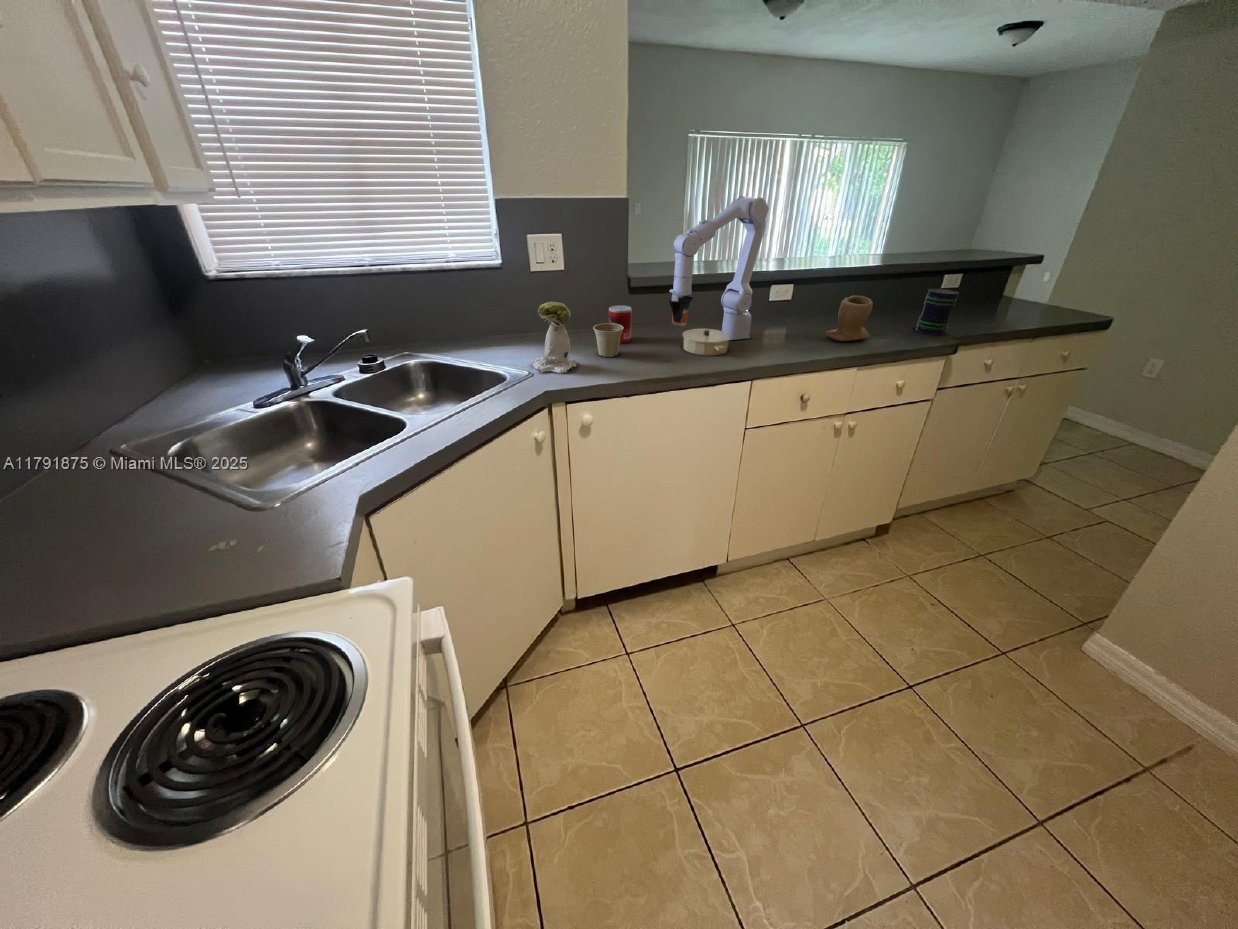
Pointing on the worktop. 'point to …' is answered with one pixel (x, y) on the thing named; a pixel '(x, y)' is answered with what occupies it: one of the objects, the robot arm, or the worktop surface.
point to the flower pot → (608, 338)
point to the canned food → (621, 320)
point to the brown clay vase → (852, 319)
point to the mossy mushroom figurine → (555, 339)
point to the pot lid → (706, 336)
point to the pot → (705, 347)
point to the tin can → (683, 319)
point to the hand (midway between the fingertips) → (679, 319)
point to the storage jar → (936, 311)
